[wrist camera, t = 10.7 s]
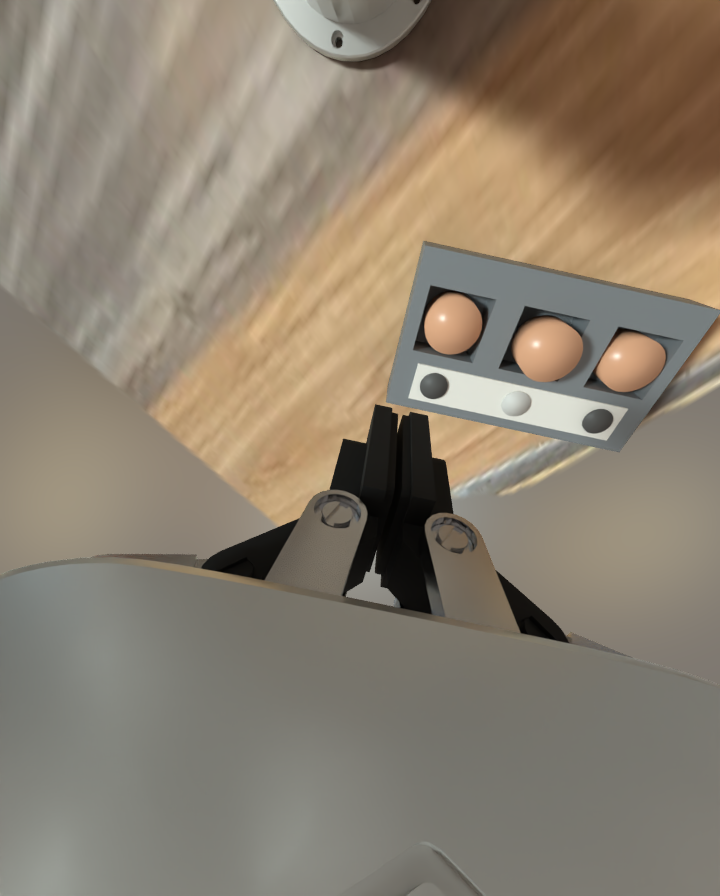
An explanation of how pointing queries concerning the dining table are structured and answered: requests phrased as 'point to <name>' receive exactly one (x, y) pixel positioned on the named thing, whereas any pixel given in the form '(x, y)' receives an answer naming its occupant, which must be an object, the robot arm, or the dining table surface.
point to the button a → (452, 322)
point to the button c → (630, 361)
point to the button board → (497, 373)
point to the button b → (546, 348)
